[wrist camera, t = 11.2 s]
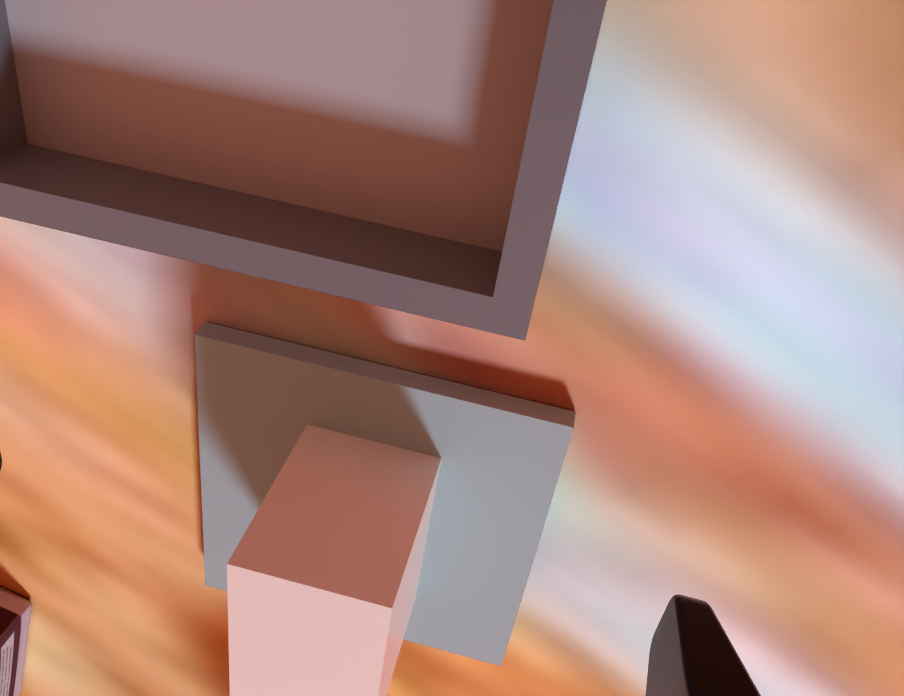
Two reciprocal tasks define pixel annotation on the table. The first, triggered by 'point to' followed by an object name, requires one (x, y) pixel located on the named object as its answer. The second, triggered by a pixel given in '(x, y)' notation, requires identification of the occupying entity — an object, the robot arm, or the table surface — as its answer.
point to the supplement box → (12, 641)
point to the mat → (397, 424)
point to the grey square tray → (305, 139)
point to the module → (329, 569)
